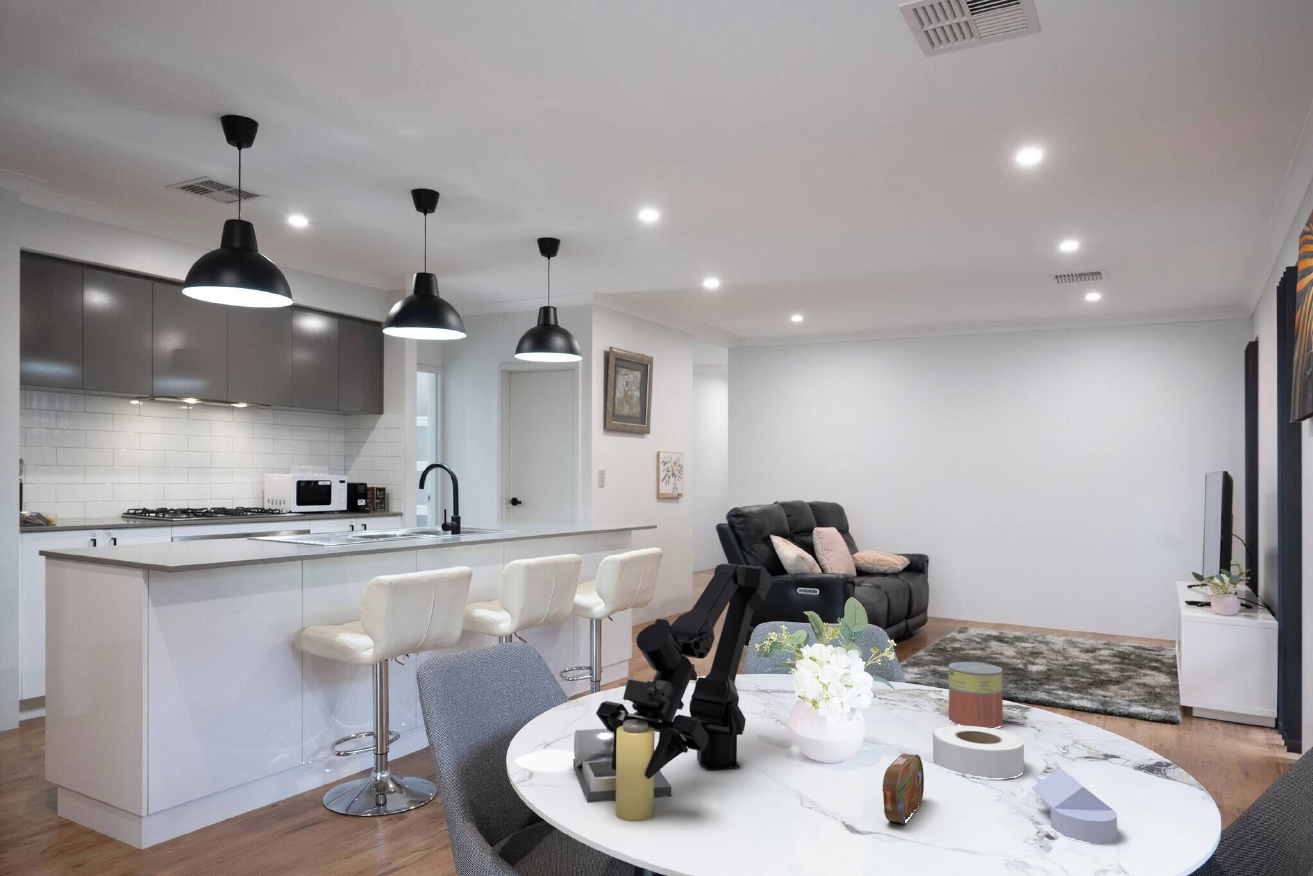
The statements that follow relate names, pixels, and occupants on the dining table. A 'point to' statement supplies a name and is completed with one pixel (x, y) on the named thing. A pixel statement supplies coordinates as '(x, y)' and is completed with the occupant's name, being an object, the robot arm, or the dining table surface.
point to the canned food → (975, 694)
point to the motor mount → (602, 766)
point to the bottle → (634, 771)
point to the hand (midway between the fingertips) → (630, 773)
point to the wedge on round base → (1077, 809)
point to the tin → (903, 787)
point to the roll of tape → (979, 751)
